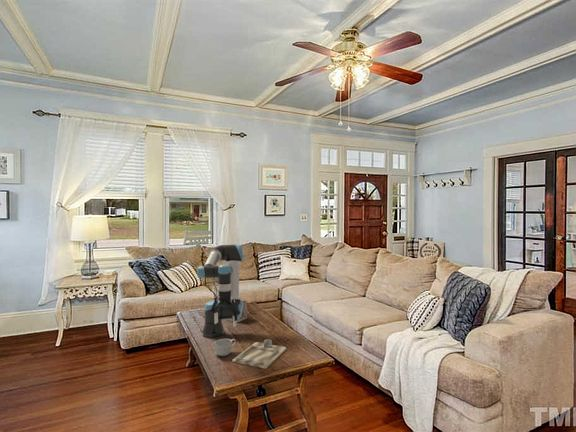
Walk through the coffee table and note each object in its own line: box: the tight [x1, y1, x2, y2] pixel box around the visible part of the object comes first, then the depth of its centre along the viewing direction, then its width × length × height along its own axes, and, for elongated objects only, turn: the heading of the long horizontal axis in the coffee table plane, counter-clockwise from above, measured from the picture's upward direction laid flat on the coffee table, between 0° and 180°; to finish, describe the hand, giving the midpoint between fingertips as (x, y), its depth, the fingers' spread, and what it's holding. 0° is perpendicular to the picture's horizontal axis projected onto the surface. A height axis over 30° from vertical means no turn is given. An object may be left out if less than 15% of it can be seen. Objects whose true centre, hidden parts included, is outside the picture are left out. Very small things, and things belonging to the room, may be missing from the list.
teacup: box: [213, 338, 237, 357], centre depth 204 cm, size 14×11×8 cm
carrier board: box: [232, 338, 287, 369], centre depth 201 cm, size 22×28×5 cm
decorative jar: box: [226, 296, 248, 323], centre depth 267 cm, size 12×12×18 cm
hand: (225, 324), depth 204 cm, fingers open, 13 cm apart
